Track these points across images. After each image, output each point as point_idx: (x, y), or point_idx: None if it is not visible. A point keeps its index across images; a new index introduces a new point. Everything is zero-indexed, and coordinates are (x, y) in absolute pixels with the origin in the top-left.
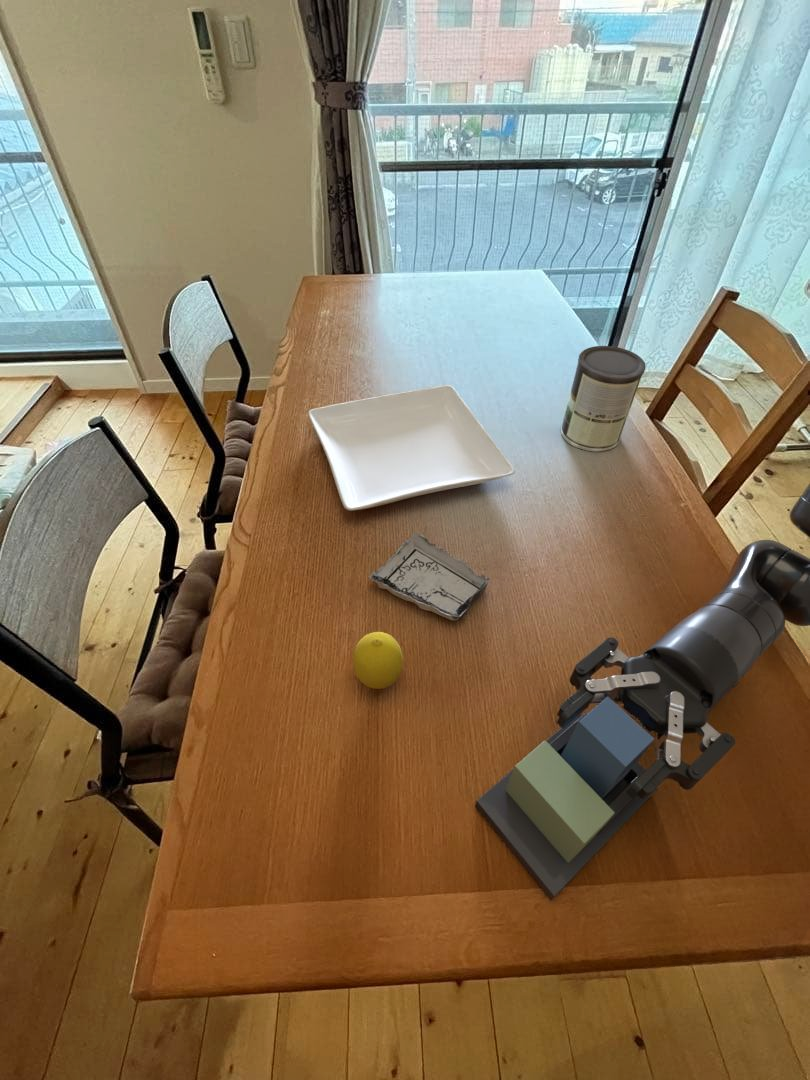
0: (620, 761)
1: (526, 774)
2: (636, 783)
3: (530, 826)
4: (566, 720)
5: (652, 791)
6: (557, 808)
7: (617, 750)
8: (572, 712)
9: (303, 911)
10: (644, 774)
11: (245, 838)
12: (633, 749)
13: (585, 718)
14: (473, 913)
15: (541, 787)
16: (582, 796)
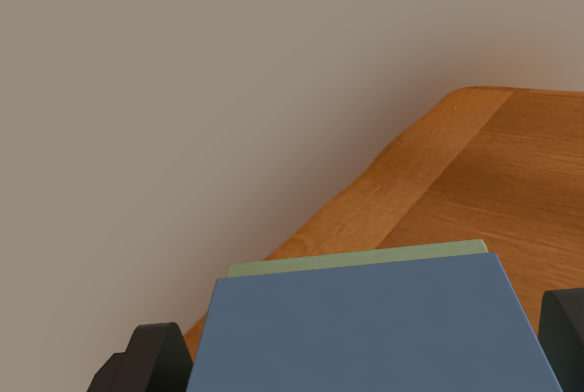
0: (245, 279)
1: (445, 248)
2: (161, 328)
3: None
4: (543, 294)
5: (96, 373)
6: (326, 259)
7: (282, 293)
8: (572, 314)
9: (452, 149)
10: (144, 368)
11: (565, 126)
12: (228, 351)
13: (495, 274)
14: None
15: (393, 257)
16: None
